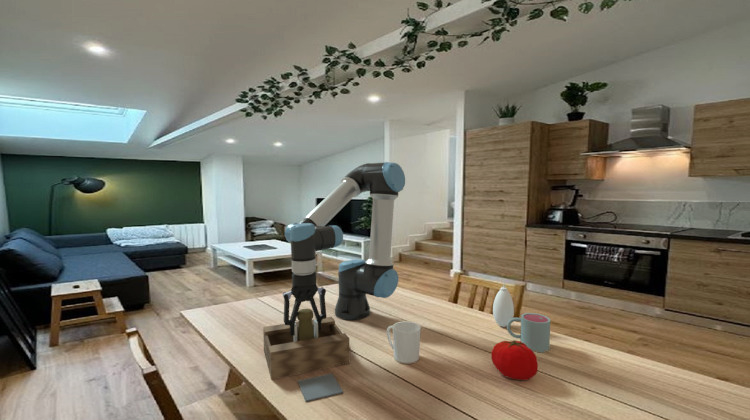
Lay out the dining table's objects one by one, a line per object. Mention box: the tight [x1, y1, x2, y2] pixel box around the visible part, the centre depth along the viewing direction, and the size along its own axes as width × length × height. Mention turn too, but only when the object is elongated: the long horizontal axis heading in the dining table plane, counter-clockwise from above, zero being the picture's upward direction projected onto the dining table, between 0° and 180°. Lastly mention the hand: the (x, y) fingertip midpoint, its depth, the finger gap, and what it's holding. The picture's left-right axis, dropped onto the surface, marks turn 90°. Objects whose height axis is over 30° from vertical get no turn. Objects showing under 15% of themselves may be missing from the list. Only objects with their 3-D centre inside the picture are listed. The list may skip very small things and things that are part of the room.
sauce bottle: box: [492, 281, 515, 328], centre depth 139 cm, size 8×8×18 cm
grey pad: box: [297, 373, 344, 403], centre depth 97 cm, size 10×10×1 cm
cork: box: [296, 308, 315, 341], centre depth 114 cm, size 6×6×11 cm
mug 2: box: [506, 312, 551, 353], centre depth 123 cm, size 14×9×10 cm
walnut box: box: [262, 316, 350, 381], centre depth 114 cm, size 24×20×8 cm
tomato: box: [490, 339, 539, 381], centre depth 103 cm, size 11×13×10 cm
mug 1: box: [386, 320, 422, 365], centre depth 114 cm, size 11×9×10 cm
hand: (306, 342), depth 115 cm, fingers closed on cork, 6 cm apart
